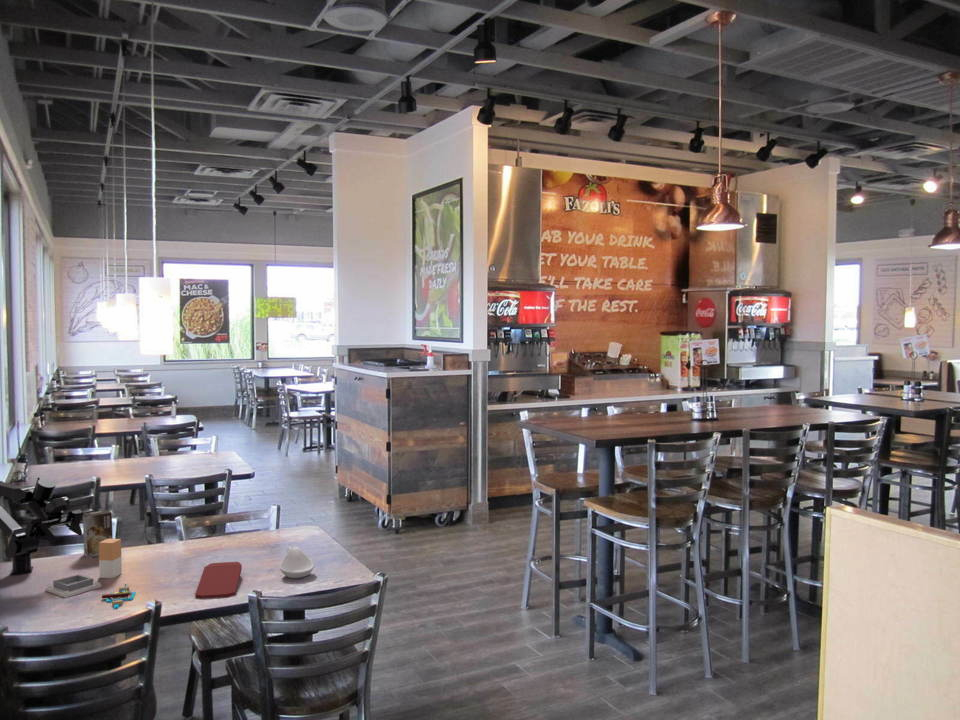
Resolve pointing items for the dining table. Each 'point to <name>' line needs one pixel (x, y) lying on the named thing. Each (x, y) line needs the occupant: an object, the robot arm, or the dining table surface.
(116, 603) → the turquoise and red toy
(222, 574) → the red rounded slab
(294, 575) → the spoon rest
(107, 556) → the orange and white block
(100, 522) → the coffee box
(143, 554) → the dining table surface
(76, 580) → the socket plate
